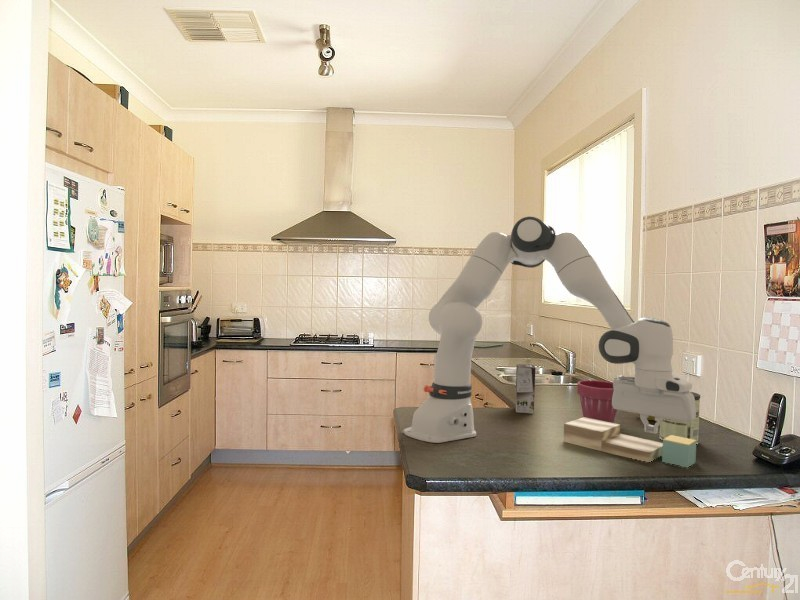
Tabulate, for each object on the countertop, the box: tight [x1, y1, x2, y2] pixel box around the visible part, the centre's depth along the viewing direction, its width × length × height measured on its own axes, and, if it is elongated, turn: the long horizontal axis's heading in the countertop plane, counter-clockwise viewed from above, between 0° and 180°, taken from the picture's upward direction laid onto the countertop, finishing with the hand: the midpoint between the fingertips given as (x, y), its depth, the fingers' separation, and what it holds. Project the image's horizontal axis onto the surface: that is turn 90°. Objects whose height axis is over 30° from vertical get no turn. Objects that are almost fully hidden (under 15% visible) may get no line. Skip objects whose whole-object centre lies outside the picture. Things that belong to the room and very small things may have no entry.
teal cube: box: [661, 435, 697, 468], centre depth 132 cm, size 6×6×6 cm
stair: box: [563, 417, 663, 463], centre depth 143 cm, size 12×24×5 cm, turn 44°
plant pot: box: [576, 379, 618, 423], centre depth 171 cm, size 14×14×13 cm
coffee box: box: [515, 363, 536, 415], centre depth 185 cm, size 9×6×16 cm
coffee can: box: [658, 391, 701, 445], centre depth 152 cm, size 10×10×14 cm
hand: (651, 432), depth 136 cm, fingers closed
